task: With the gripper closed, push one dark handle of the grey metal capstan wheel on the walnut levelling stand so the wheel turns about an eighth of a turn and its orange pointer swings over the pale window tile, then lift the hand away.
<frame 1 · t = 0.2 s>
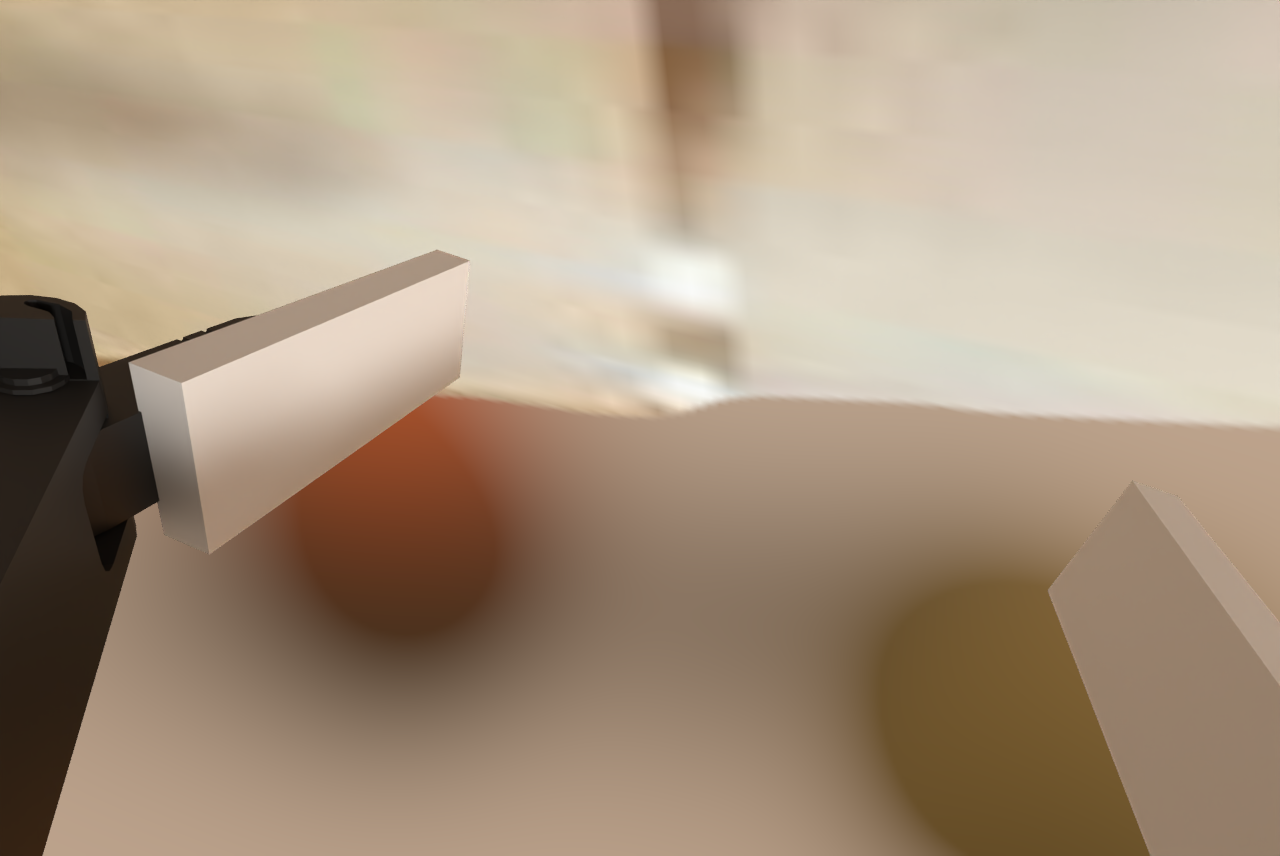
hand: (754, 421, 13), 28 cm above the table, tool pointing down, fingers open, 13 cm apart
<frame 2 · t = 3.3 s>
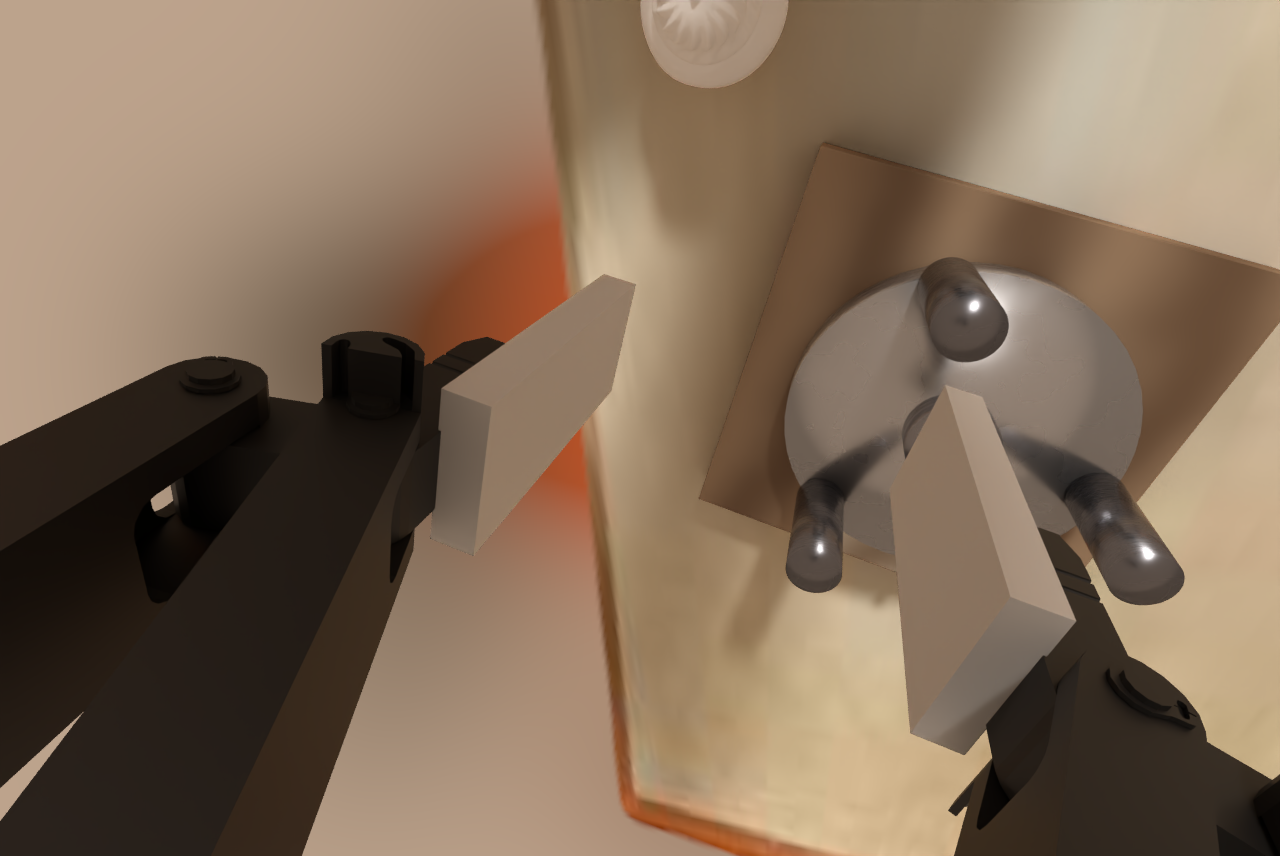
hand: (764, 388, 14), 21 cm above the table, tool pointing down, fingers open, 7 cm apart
muffin: (728, 14, 29), on the table
capstan: (961, 455, 28), point 7 cm above the table, hinge at 0.0°
stand: (937, 392, 34), on the table
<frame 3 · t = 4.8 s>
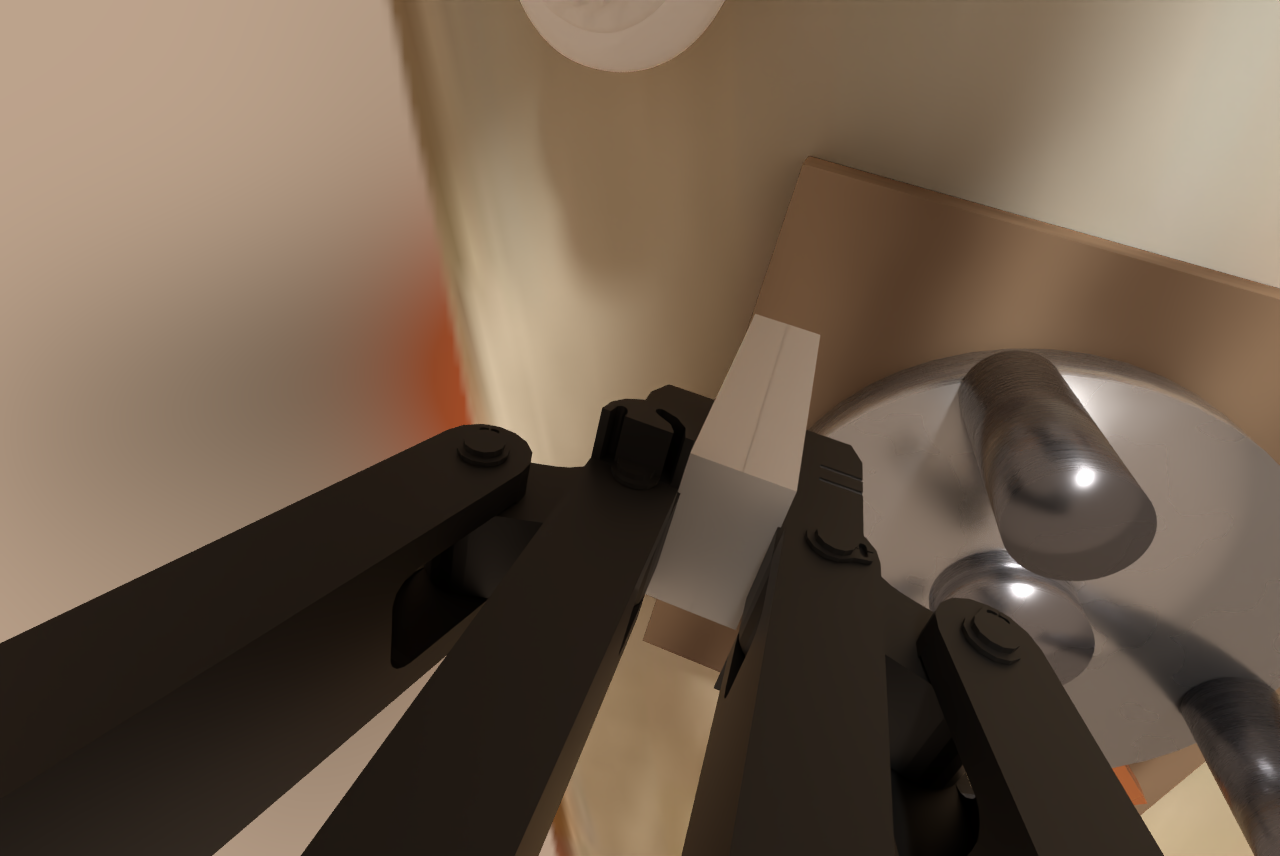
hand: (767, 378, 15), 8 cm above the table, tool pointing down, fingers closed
capstan: (1026, 657, 18), point 7 cm above the table, hinge at 0.0°
stand: (976, 515, 24), on the table
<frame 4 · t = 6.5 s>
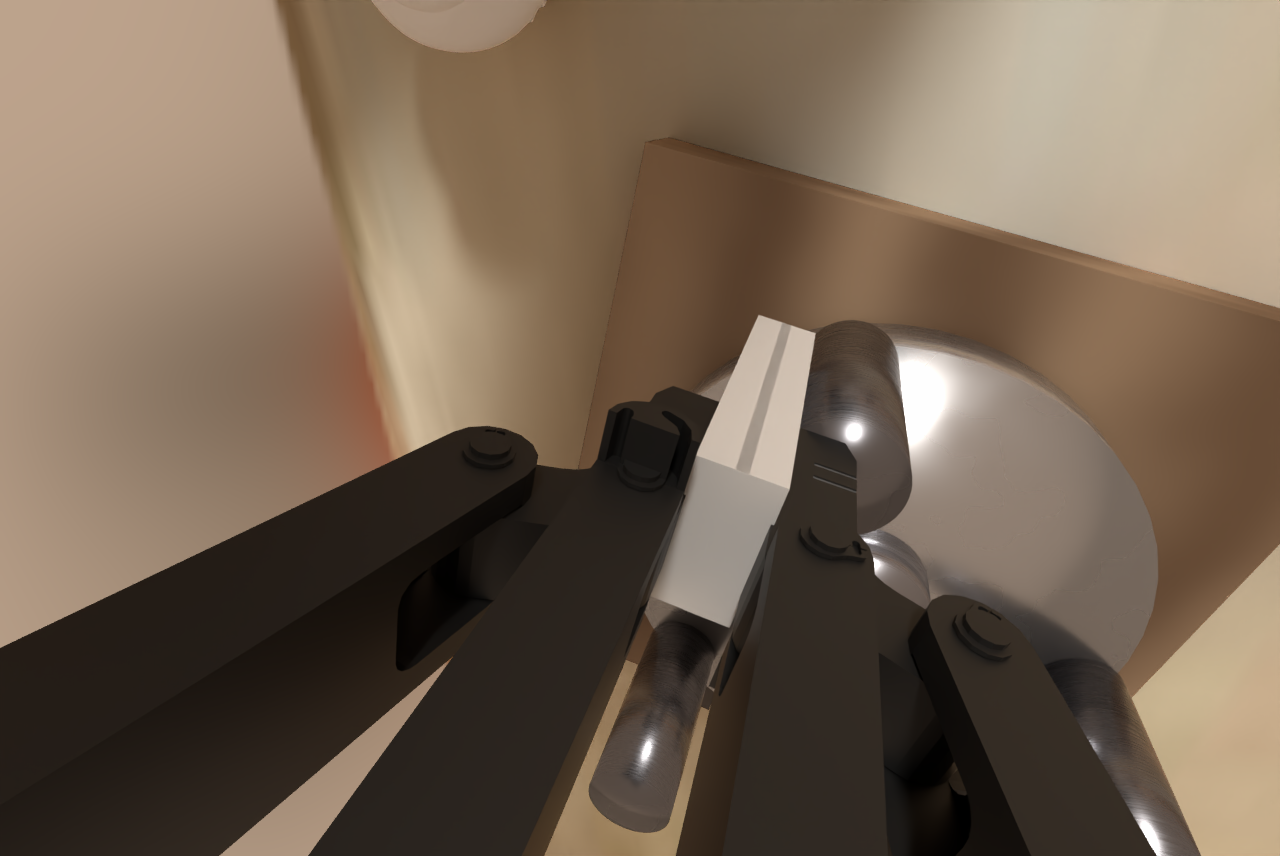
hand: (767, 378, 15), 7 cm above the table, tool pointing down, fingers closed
capstan: (867, 630, 18), point 7 cm above the table, hinge at -2.1°, touching gripper
stand: (858, 497, 24), on the table
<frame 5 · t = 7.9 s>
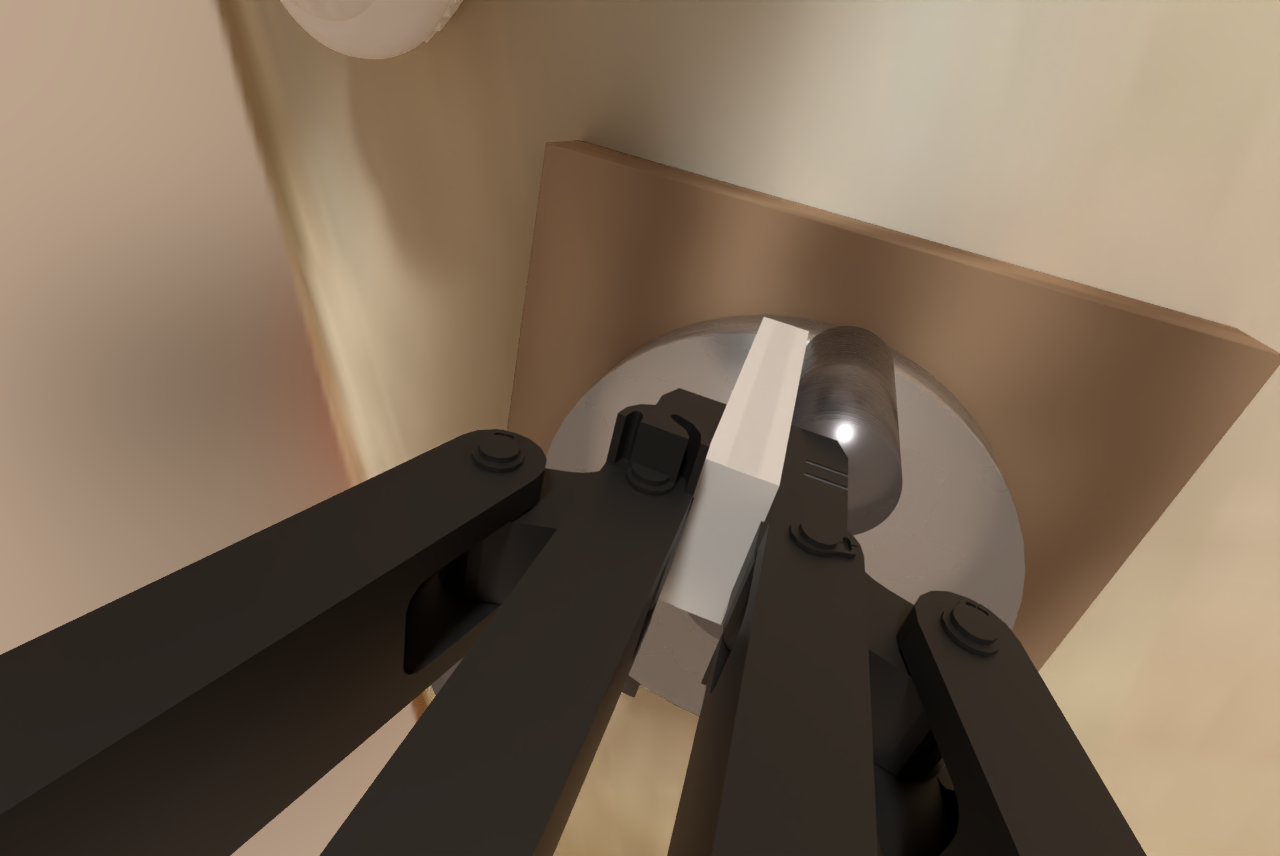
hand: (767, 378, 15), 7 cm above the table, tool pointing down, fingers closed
capstan: (749, 612, 19), point 7 cm above the table, hinge at -27.8°, touching gripper
stand: (773, 488, 24), on the table
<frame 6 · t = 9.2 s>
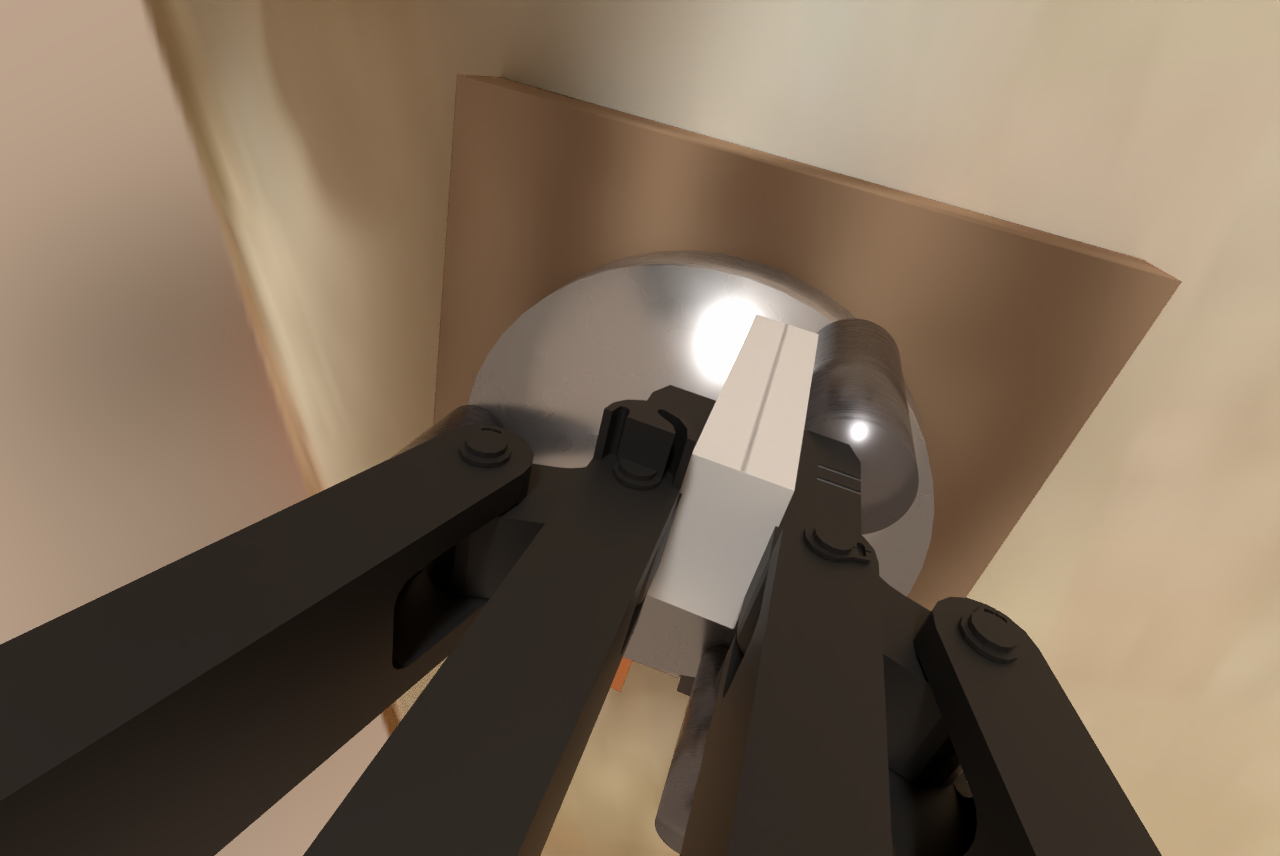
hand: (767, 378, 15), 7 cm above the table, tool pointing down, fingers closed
capstan: (663, 550, 19), point 7 cm above the table, hinge at -52.5°, touching gripper
stand: (705, 435, 24), on the table
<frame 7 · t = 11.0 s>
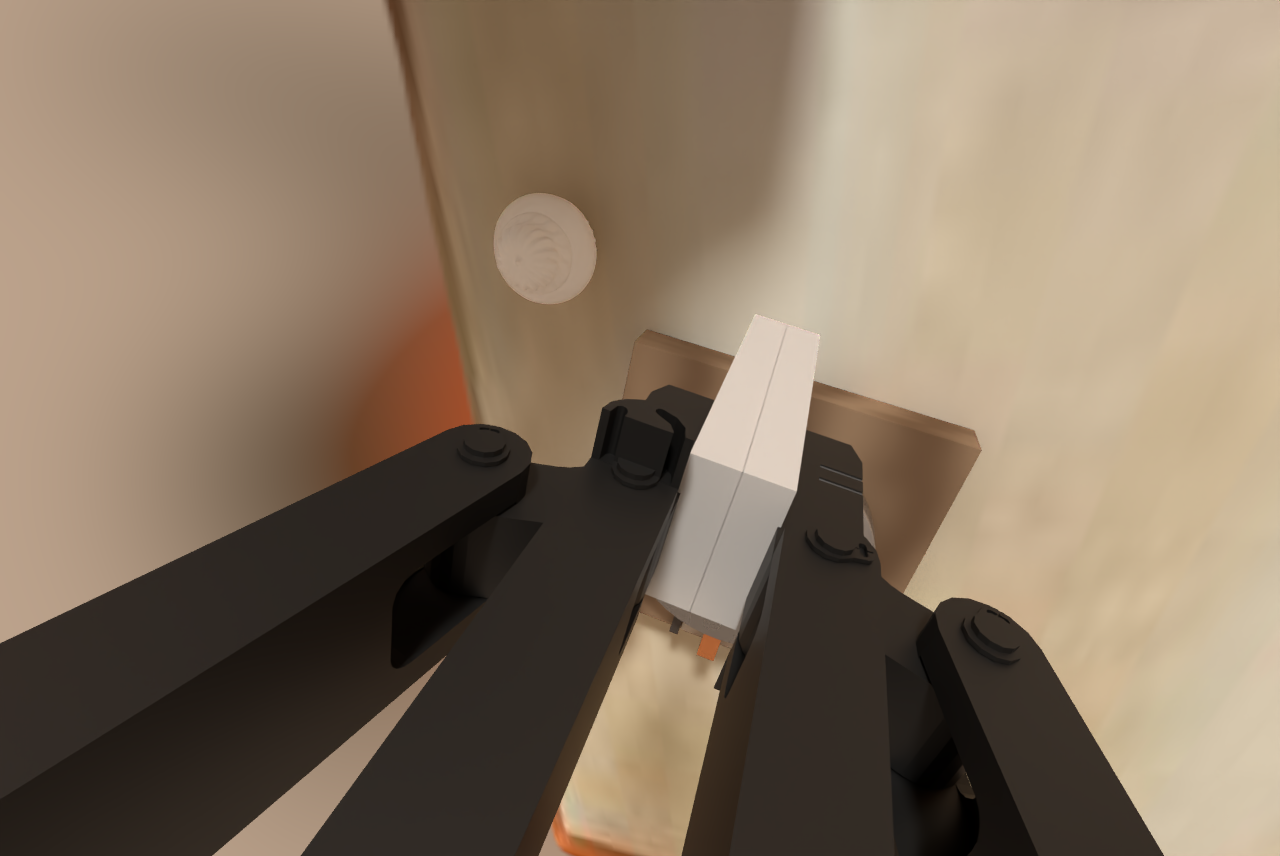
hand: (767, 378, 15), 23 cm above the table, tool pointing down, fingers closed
muffin: (569, 239, 39), on the table
capstan: (741, 576, 37), point 7 cm above the table, hinge at -50.0°
stand: (755, 510, 43), on the table
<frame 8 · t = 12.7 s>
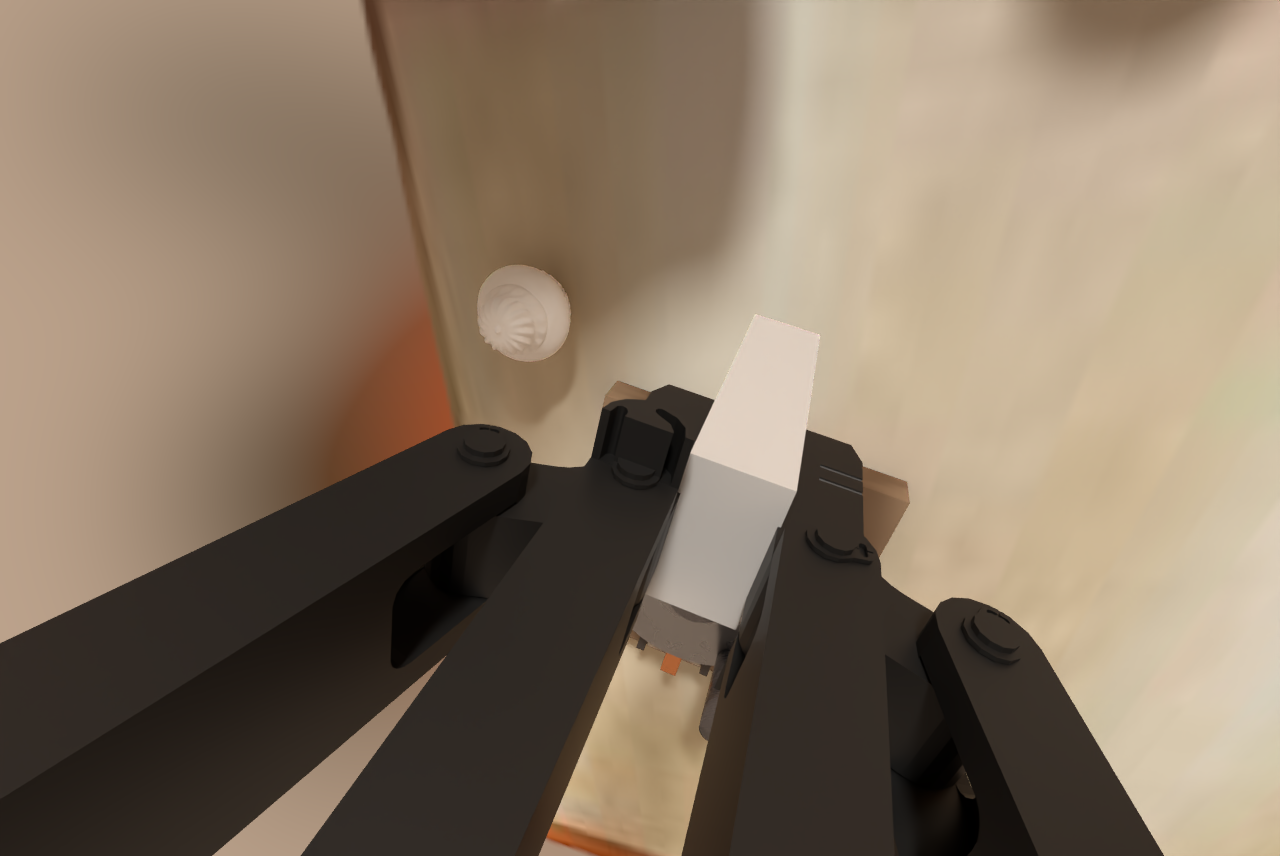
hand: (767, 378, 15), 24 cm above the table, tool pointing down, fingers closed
muffin: (547, 298, 43), on the table
capstan: (697, 607, 42), point 7 cm above the table, hinge at -50.0°
stand: (715, 541, 47), on the table
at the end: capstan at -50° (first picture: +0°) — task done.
